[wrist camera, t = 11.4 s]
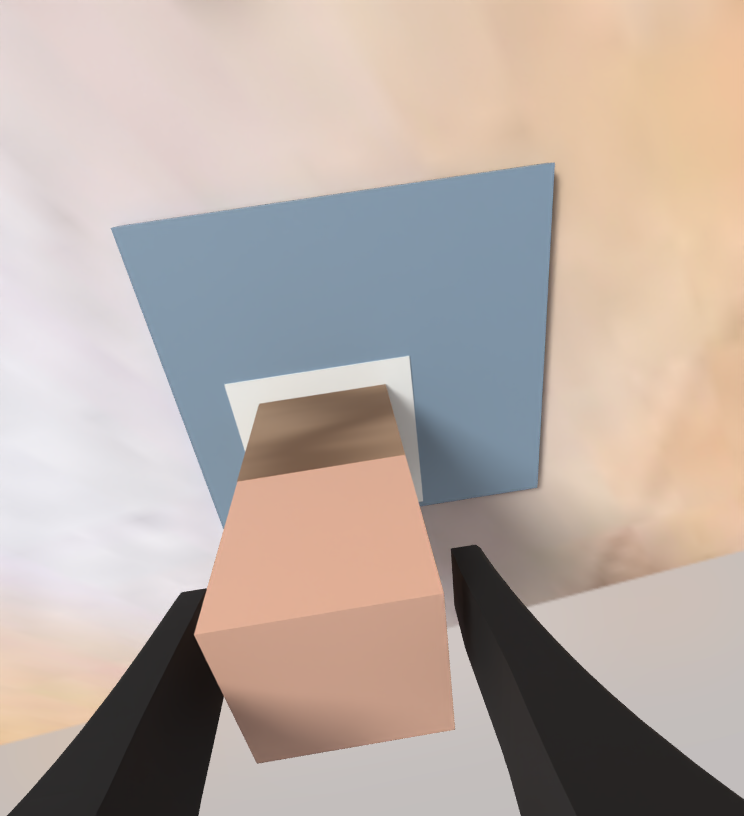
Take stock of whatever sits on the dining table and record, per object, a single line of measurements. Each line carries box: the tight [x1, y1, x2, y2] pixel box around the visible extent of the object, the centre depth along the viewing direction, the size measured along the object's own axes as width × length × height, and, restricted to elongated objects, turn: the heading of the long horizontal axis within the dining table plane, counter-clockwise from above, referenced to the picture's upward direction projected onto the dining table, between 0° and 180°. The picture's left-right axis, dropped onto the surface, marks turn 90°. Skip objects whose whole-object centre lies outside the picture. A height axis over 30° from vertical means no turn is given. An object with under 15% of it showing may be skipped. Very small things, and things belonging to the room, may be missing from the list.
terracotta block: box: [194, 455, 455, 763], centre depth 11 cm, size 4×4×4 cm
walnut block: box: [237, 384, 405, 482], centre depth 15 cm, size 4×4×4 cm
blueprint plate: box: [111, 163, 555, 529], centre depth 16 cm, size 13×12×1 cm
